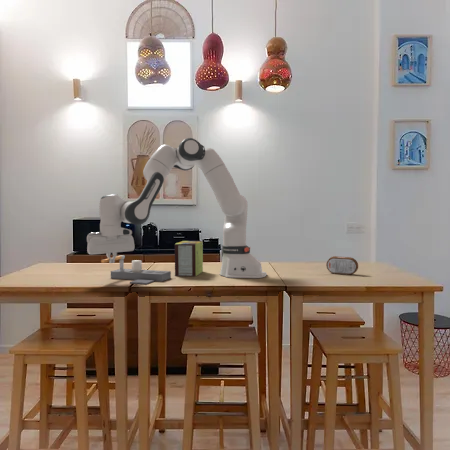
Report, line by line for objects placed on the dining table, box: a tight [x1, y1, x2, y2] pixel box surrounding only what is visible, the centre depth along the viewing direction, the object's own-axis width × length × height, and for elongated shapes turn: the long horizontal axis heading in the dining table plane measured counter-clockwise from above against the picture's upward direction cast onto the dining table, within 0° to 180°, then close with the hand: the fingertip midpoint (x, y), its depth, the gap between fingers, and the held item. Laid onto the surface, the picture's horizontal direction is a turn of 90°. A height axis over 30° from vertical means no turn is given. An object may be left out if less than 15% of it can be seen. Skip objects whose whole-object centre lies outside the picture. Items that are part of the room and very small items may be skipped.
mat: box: [129, 279, 156, 286], centre depth 189 cm, size 8×8×1 cm
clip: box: [100, 254, 126, 264], centre depth 195 cm, size 18×3×1 cm, turn 164°
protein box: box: [174, 240, 204, 277], centre depth 212 cm, size 10×15×16 cm
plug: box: [131, 259, 143, 272], centre depth 200 cm, size 4×4×8 cm
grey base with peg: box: [110, 258, 172, 283], centre depth 199 cm, size 26×9×9 cm, turn 72°
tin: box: [326, 255, 359, 276], centre depth 212 cm, size 15×3×8 cm, turn 65°
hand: (111, 262), depth 190 cm, fingers closed
